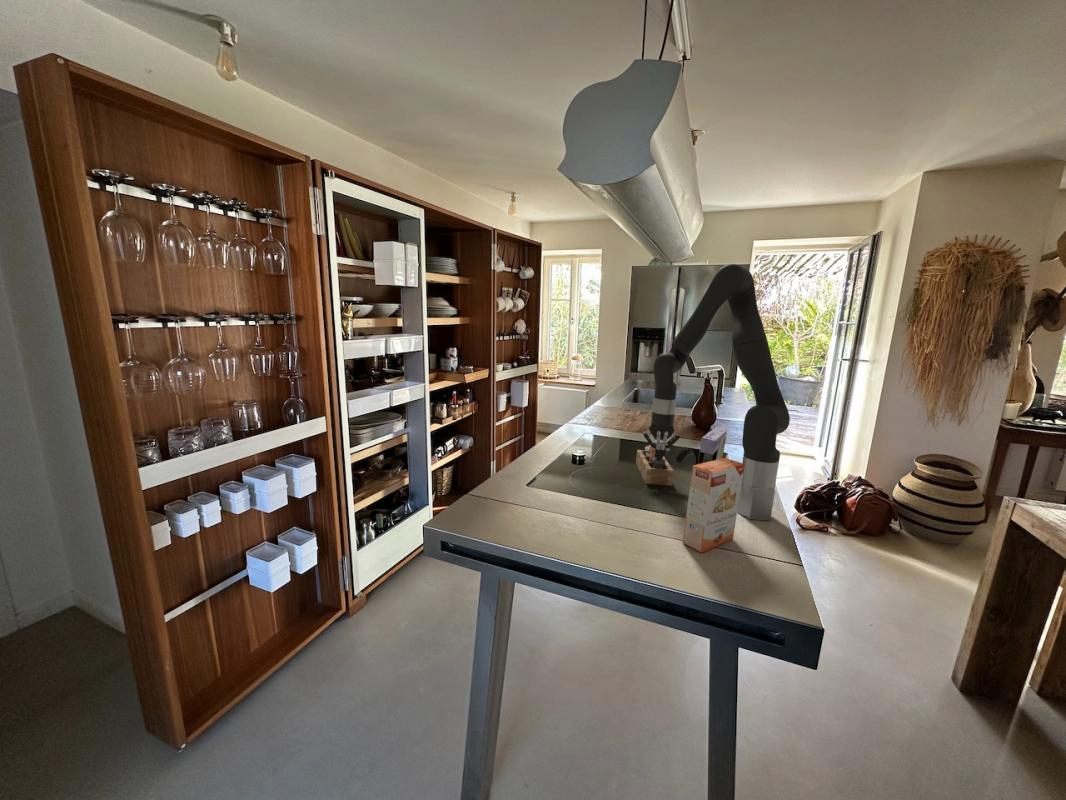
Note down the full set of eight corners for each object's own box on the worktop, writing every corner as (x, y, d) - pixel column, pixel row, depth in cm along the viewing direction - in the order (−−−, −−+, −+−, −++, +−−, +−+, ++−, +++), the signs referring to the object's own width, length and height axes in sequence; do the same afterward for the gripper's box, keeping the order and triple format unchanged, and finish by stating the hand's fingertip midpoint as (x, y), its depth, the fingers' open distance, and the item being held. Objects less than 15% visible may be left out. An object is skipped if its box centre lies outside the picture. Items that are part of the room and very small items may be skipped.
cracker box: (702, 554, 100) (713, 472, 97) (681, 543, 105) (690, 464, 101) (735, 540, 108) (746, 463, 104) (714, 530, 113) (723, 456, 109)
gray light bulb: (664, 482, 146) (666, 461, 144) (651, 481, 146) (653, 460, 145) (661, 477, 150) (663, 457, 149) (648, 476, 151) (650, 456, 149)
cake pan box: (707, 490, 142) (714, 439, 138) (692, 486, 144) (698, 436, 141) (721, 475, 157) (727, 429, 154) (707, 472, 160) (713, 427, 156)
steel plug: (656, 468, 159) (658, 450, 158) (644, 467, 160) (646, 449, 158) (654, 464, 164) (656, 446, 163) (642, 463, 164) (644, 445, 163)
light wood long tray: (672, 485, 144) (673, 470, 143) (645, 483, 145) (646, 468, 144) (659, 464, 166) (660, 451, 165) (636, 463, 166) (637, 449, 165)
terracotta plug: (661, 467, 152) (663, 448, 151) (648, 466, 152) (650, 447, 151) (658, 463, 157) (660, 444, 155) (646, 462, 157) (648, 443, 156)
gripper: (645, 412, 141) (641, 461, 144) (686, 414, 140) (680, 464, 143) (642, 407, 148) (637, 454, 151) (680, 410, 147) (675, 457, 150)
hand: (658, 459), depth 147 cm, fingers closed
